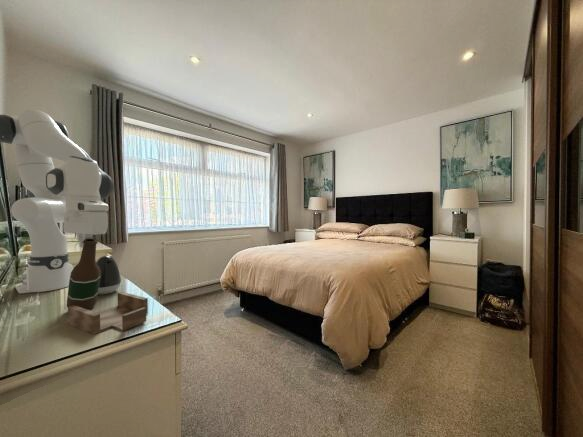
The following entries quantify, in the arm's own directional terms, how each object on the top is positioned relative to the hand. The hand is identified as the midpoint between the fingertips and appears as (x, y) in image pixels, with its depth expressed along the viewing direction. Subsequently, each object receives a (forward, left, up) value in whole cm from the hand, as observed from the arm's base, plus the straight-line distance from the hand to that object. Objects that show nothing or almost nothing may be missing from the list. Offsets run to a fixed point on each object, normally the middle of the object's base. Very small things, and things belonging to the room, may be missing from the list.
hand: (84, 247), depth 80 cm
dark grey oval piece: (-14, +13, -22) cm, 29 cm away
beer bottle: (-3, 0, -21) cm, 21 cm away
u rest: (+17, 0, -21) cm, 27 cm away
